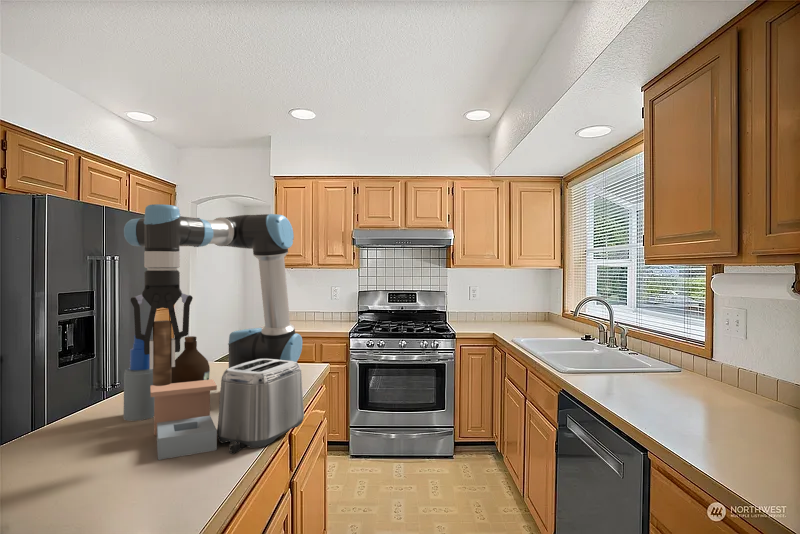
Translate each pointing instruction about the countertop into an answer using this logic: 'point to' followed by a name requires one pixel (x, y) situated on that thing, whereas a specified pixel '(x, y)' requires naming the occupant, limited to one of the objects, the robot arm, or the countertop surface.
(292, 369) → the toaster
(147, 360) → the spray bottle
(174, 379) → the olive oil
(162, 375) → the peg
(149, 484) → the countertop surface
